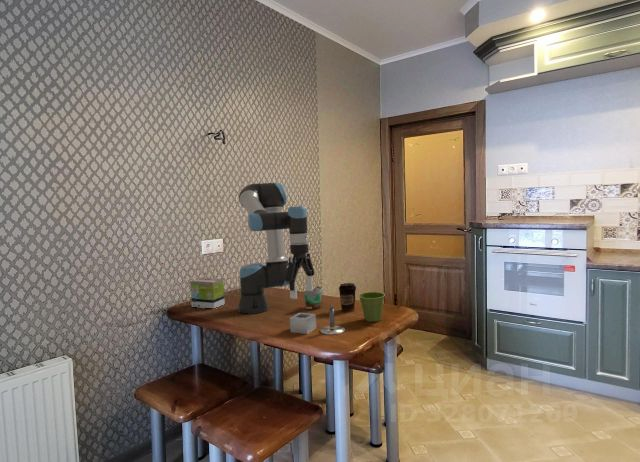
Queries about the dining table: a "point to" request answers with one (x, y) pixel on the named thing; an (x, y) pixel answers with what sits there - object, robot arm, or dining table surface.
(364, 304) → the plant pot
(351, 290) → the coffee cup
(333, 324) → the post
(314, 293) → the food container
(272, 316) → the dining table surface
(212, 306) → the tea box
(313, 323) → the collar
